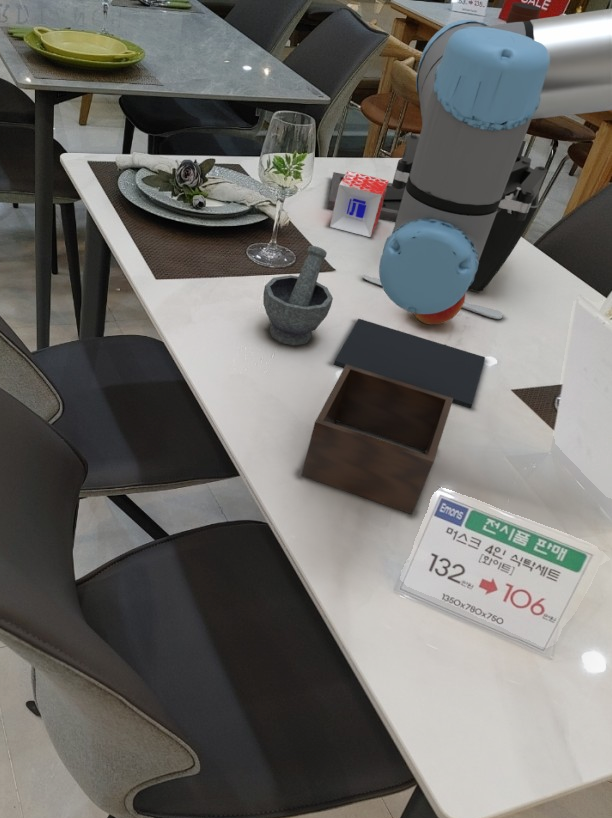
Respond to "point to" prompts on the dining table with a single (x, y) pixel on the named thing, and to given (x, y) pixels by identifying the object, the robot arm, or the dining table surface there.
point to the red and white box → (358, 203)
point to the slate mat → (413, 361)
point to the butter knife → (471, 307)
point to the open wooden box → (370, 457)
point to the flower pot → (500, 244)
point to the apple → (441, 314)
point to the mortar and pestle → (297, 301)
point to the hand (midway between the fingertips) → (481, 144)
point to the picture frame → (389, 203)
